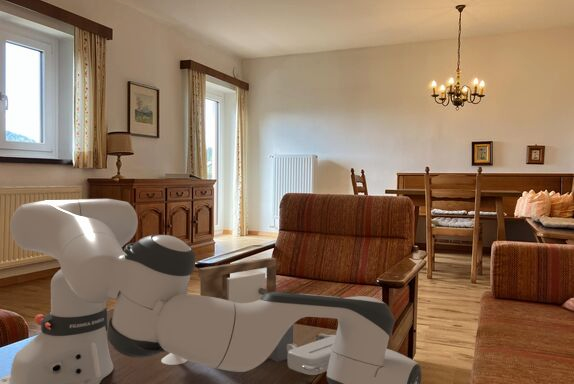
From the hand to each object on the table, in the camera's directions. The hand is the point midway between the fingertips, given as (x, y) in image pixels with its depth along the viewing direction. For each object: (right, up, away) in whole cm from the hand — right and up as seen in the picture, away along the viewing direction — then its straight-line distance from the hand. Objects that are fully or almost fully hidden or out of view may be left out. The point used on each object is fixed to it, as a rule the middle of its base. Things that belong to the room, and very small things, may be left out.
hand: (304, 341), depth 108 cm
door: (-14, -5, +12) cm, 19 cm away
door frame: (-16, -5, +11) cm, 20 cm away
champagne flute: (-31, -6, +4) cm, 32 cm away
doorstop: (-6, -6, +7) cm, 11 cm away
